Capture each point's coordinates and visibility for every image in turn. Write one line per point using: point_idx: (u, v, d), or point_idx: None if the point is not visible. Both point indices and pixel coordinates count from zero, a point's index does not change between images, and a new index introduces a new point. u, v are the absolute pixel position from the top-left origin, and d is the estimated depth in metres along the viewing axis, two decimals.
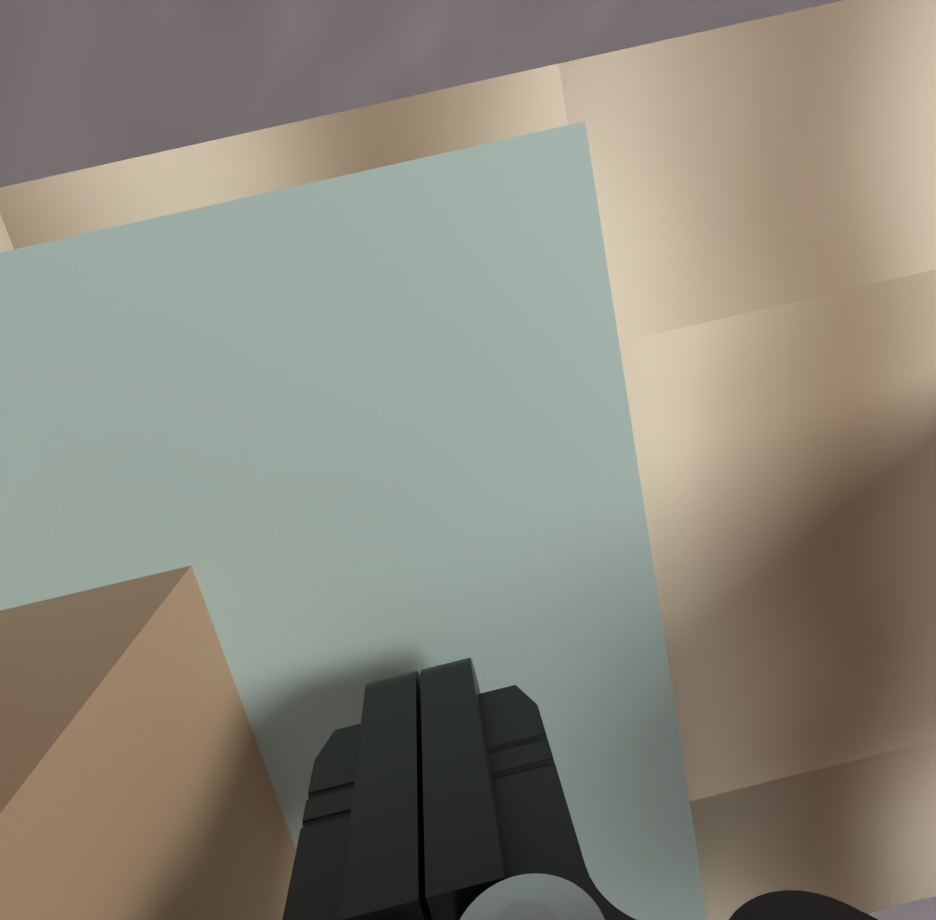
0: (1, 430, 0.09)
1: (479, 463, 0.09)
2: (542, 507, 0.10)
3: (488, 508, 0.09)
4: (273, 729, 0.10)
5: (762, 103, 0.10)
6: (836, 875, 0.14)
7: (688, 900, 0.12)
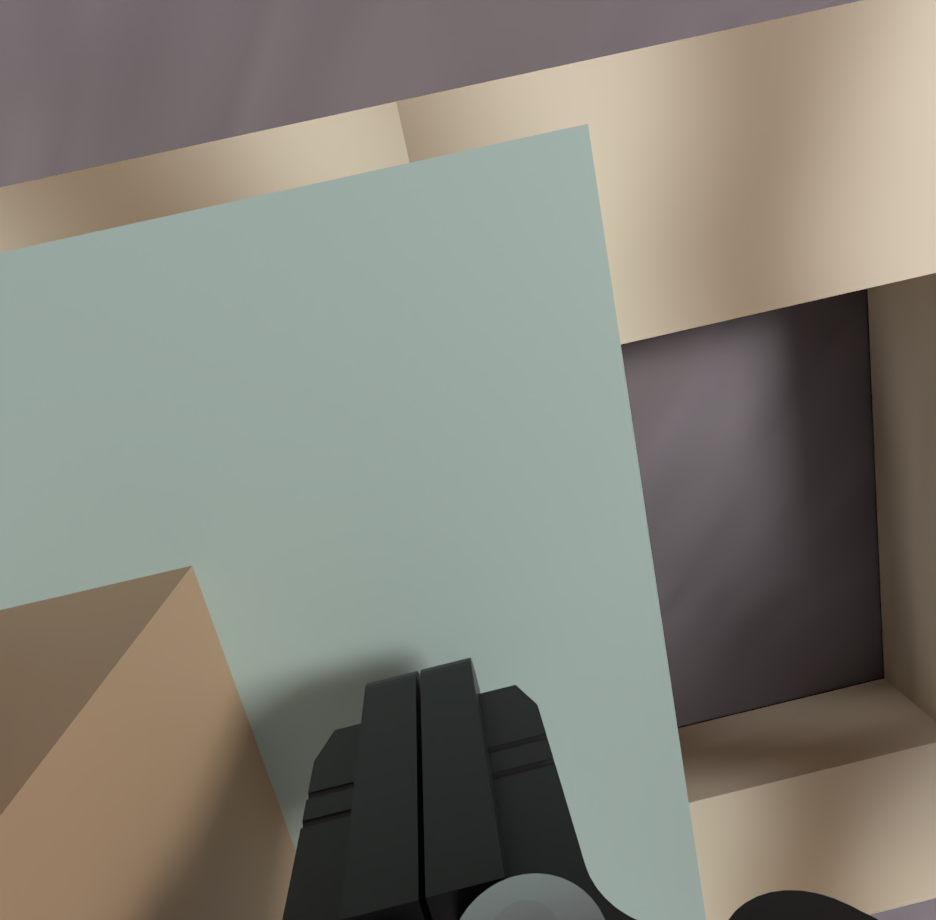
0: (2, 430, 0.09)
1: (480, 464, 0.09)
2: (543, 509, 0.10)
3: (489, 509, 0.09)
4: (273, 729, 0.10)
5: None
6: None
7: (687, 902, 0.12)
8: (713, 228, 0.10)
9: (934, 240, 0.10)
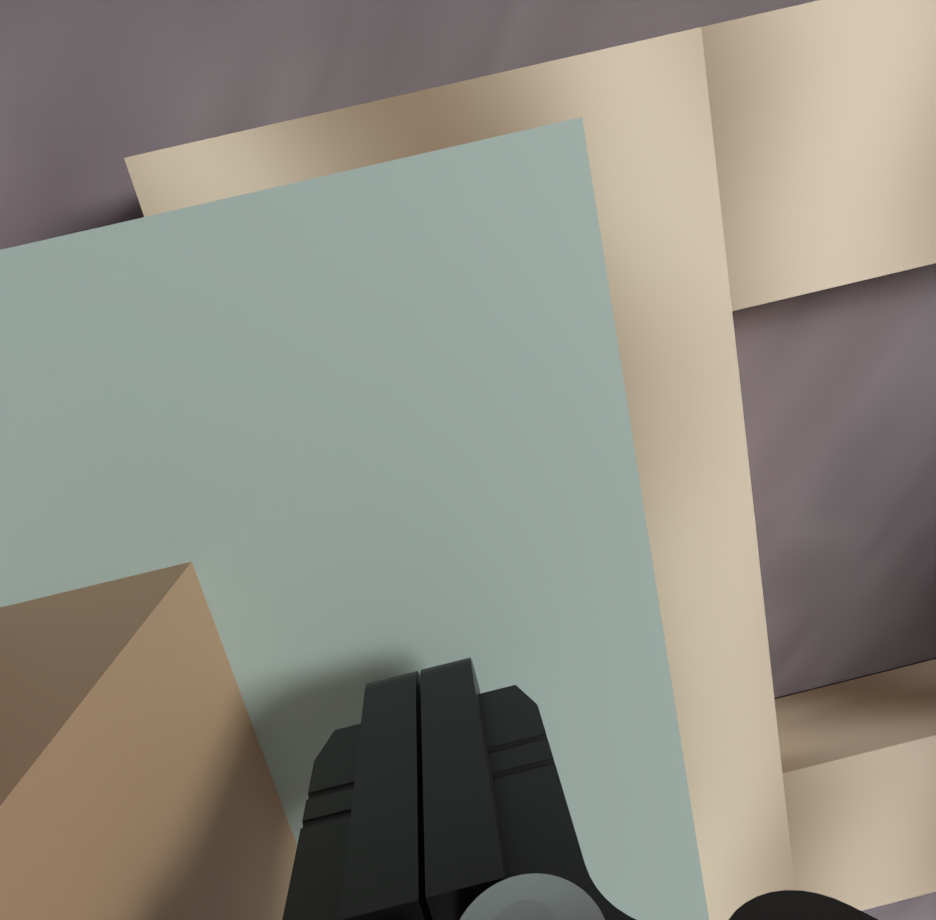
0: (1, 427, 0.09)
1: (478, 458, 0.09)
2: (541, 502, 0.10)
3: (487, 503, 0.09)
4: (274, 725, 0.10)
5: None
6: None
7: (689, 895, 0.12)
8: None
9: None
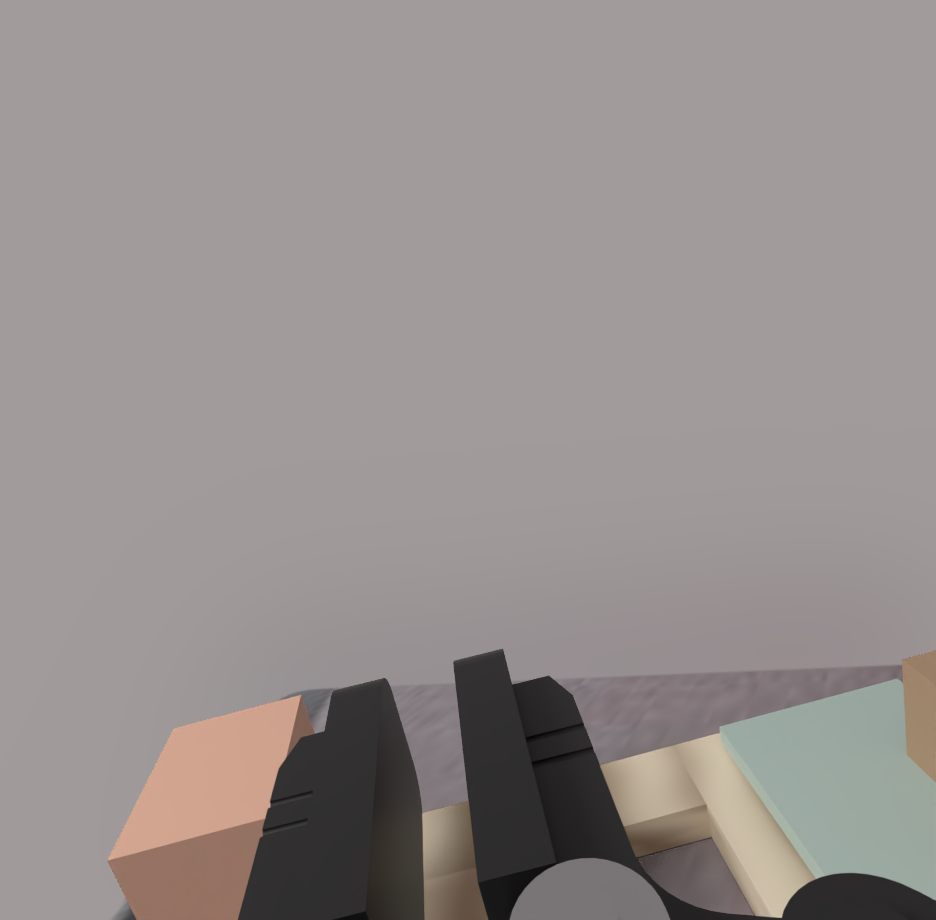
0: None
1: None
2: None
3: None
4: None
5: None
6: None
7: (747, 755, 0.31)
8: None
9: None
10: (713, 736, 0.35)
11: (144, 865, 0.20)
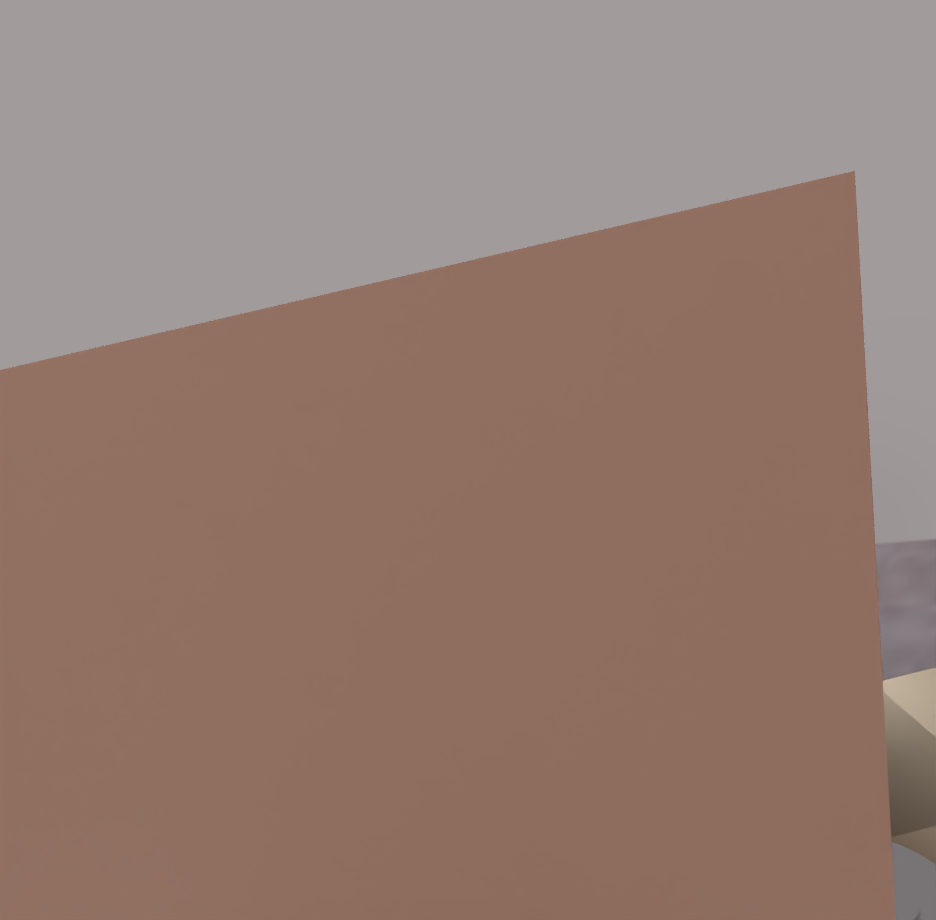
0: None
1: None
2: None
3: None
4: None
5: None
6: None
7: None
8: None
9: None
10: None
11: None
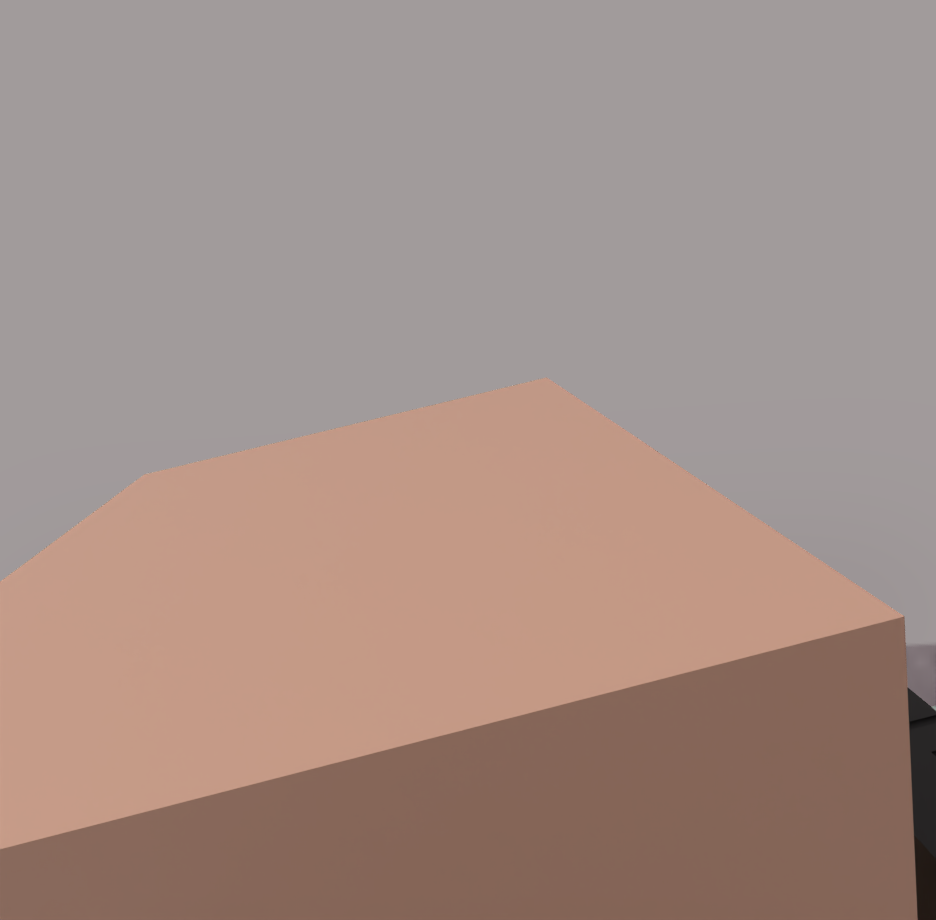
0: None
1: None
2: None
3: None
4: None
5: None
6: None
7: None
8: None
9: None
10: None
11: None
